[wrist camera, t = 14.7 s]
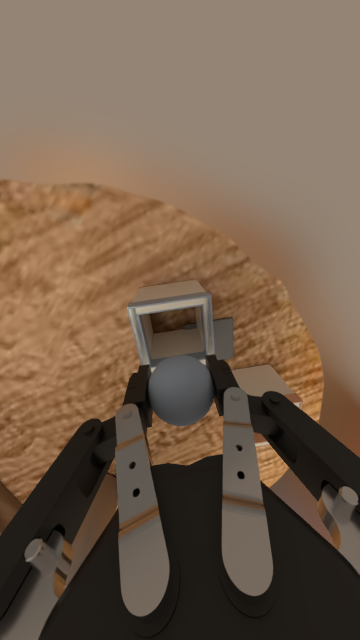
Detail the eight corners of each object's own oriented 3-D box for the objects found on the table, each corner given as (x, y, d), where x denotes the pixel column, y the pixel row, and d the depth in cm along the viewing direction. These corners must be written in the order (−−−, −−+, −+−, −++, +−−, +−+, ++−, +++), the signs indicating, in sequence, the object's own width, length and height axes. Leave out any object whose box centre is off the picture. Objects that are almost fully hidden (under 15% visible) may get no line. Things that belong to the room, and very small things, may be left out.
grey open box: (225, 404, 35) (242, 449, 27) (224, 370, 31) (242, 411, 24) (267, 397, 35) (295, 440, 27) (270, 363, 31) (302, 401, 24)
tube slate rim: (149, 338, 28) (144, 375, 20) (137, 286, 25) (126, 307, 17) (202, 330, 28) (215, 363, 21) (197, 278, 25) (211, 295, 17)
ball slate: (155, 393, 15) (153, 447, 11) (144, 348, 14) (136, 394, 10) (208, 384, 16) (224, 436, 11) (204, 338, 14) (221, 380, 10)
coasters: (171, 399, 33) (171, 400, 33) (157, 328, 27) (157, 329, 27) (233, 389, 33) (233, 390, 33) (231, 317, 27) (232, 318, 27)
